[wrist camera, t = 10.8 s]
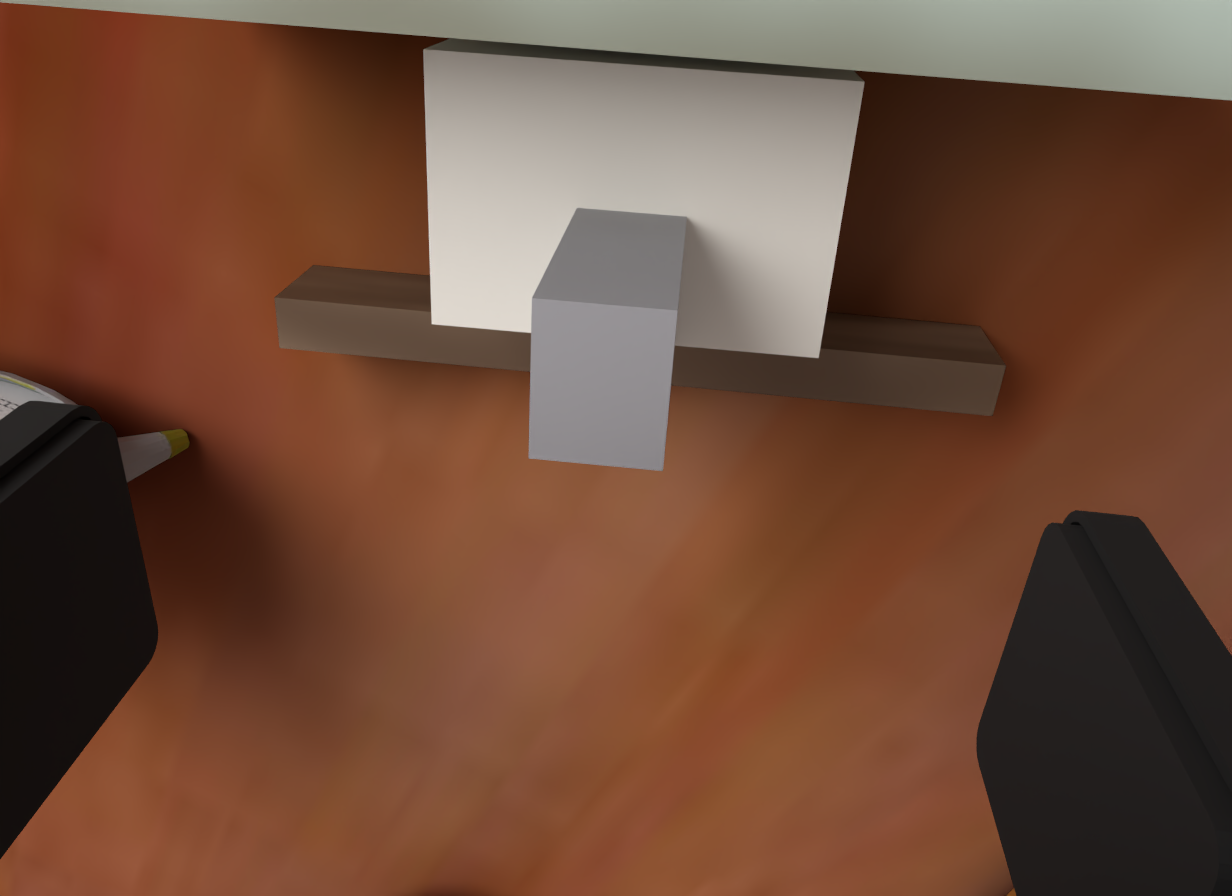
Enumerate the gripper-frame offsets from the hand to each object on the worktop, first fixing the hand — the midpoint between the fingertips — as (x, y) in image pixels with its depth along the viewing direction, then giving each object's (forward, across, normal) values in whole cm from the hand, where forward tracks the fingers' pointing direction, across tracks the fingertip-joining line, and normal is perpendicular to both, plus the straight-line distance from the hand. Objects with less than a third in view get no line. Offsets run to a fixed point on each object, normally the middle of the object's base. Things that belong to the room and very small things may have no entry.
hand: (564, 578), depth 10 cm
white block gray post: (+20, 0, 0) cm, 20 cm away
